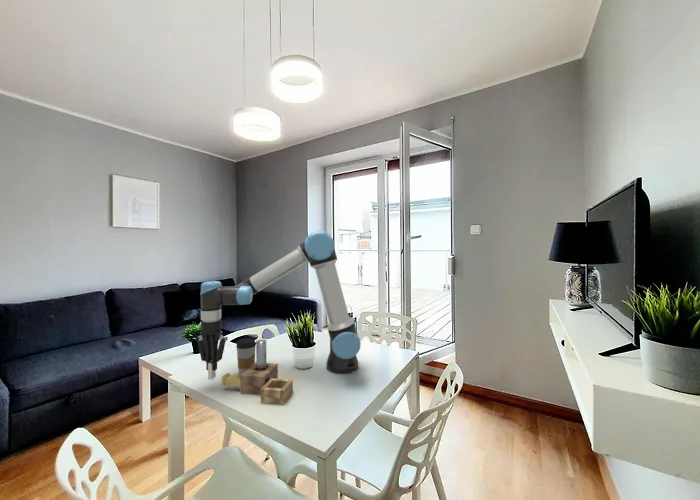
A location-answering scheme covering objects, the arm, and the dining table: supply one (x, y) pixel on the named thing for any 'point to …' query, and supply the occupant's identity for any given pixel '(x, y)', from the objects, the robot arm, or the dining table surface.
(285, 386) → the block
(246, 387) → the socket block
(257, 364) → the grey metal rod
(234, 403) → the dining table surface
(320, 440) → the dining table surface
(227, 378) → the drift key
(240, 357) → the coffee cup
